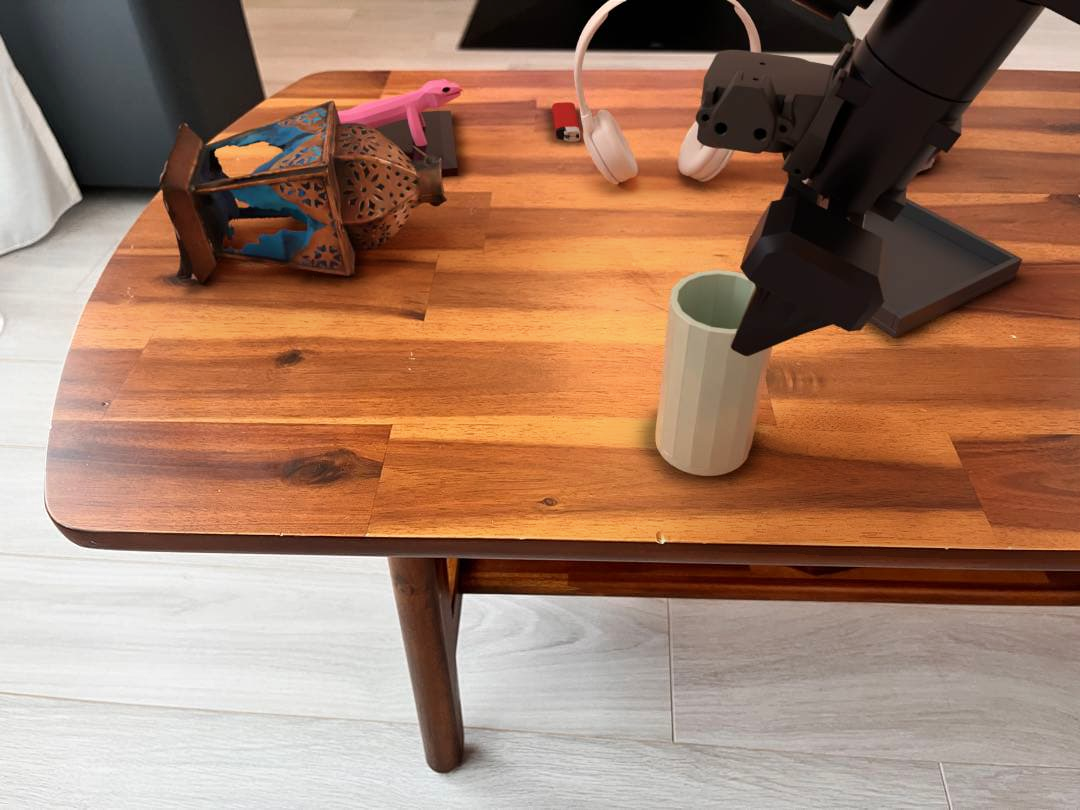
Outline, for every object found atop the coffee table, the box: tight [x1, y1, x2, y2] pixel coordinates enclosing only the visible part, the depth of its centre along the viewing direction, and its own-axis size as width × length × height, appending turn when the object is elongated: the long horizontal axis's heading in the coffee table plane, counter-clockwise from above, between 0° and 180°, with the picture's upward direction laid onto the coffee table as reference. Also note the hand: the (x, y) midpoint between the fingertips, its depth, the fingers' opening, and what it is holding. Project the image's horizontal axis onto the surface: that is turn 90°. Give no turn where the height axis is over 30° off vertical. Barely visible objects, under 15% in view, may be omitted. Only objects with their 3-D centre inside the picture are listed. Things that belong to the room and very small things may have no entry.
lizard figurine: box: [337, 78, 464, 178], centre depth 100 cm, size 15×20×7 cm
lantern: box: [159, 100, 448, 285], centre depth 83 cm, size 16×16×25 cm
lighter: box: [551, 101, 582, 143], centre depth 106 cm, size 3×1×8 cm
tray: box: [863, 197, 1023, 339], centre depth 84 cm, size 16×16×2 cm
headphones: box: [573, 0, 762, 185], centre depth 90 cm, size 7×18×20 cm, turn 93°
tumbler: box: [654, 269, 773, 477], centre depth 63 cm, size 7×7×13 cm
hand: (752, 303), depth 52 cm, fingers open, 9 cm apart
